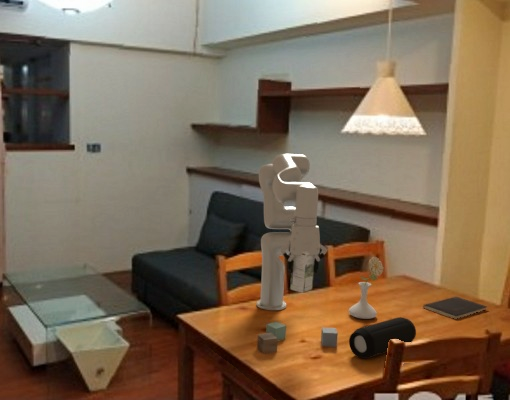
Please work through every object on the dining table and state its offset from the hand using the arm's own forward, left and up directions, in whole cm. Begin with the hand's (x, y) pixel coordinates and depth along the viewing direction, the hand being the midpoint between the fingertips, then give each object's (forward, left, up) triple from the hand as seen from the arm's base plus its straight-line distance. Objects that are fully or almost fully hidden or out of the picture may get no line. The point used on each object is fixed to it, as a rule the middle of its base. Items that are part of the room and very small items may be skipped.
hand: (302, 271), depth 183 cm
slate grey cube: (0, +11, -26) cm, 29 cm away
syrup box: (0, 0, -7) cm, 7 cm away
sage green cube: (-6, -7, -26) cm, 28 cm away
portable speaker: (+7, +28, -27) cm, 39 cm away
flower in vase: (-26, +34, -26) cm, 50 cm away
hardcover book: (-33, +78, -27) cm, 89 cm away
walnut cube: (+4, -12, -26) cm, 29 cm away
